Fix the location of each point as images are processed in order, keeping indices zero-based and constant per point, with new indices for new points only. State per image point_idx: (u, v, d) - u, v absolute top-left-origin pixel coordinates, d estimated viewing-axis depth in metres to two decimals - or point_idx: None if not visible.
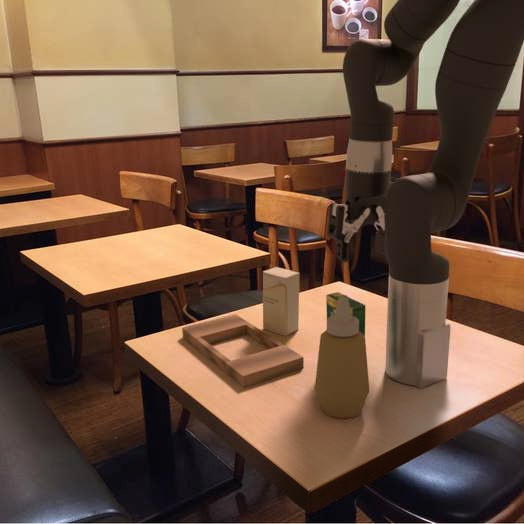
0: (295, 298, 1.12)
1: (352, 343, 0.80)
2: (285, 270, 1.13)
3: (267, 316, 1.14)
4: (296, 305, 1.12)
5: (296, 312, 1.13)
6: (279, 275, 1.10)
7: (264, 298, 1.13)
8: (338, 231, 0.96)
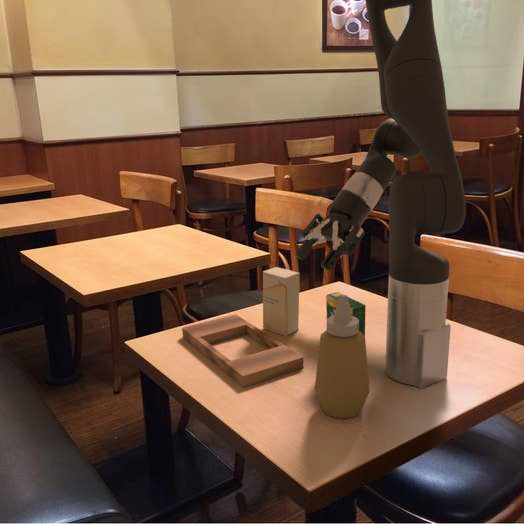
0: (295, 298, 1.12)
1: (352, 343, 0.80)
2: (285, 270, 1.13)
3: (267, 316, 1.14)
4: (296, 305, 1.12)
5: (296, 312, 1.13)
6: (279, 275, 1.10)
7: (264, 298, 1.13)
8: (305, 229, 1.21)
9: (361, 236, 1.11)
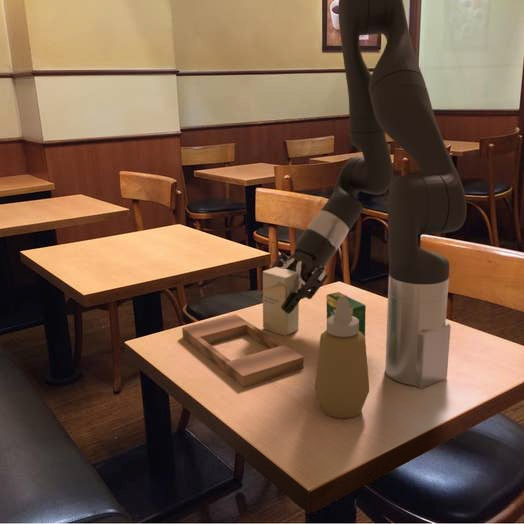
0: None
1: (352, 343, 0.80)
2: (285, 270, 1.13)
3: (267, 316, 1.14)
4: (296, 305, 1.12)
5: (296, 312, 1.13)
6: (279, 275, 1.10)
7: (264, 298, 1.13)
8: None
9: (323, 279, 1.09)
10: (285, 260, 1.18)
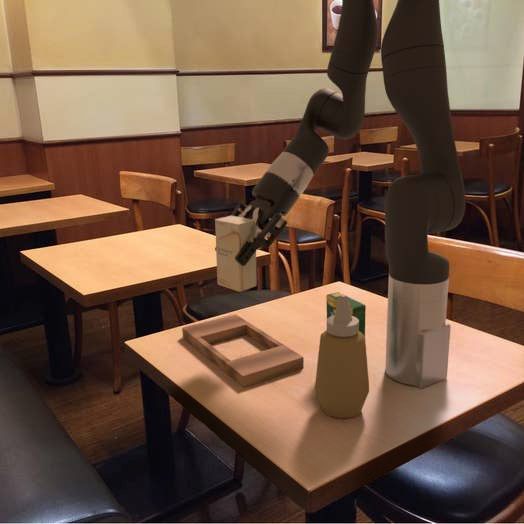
0: None
1: (352, 343, 0.80)
2: (240, 218, 1.00)
3: (221, 270, 1.01)
4: (253, 257, 1.00)
5: (253, 265, 1.00)
6: (232, 222, 0.97)
7: (217, 250, 1.01)
8: None
9: (282, 227, 0.96)
10: (243, 210, 1.05)
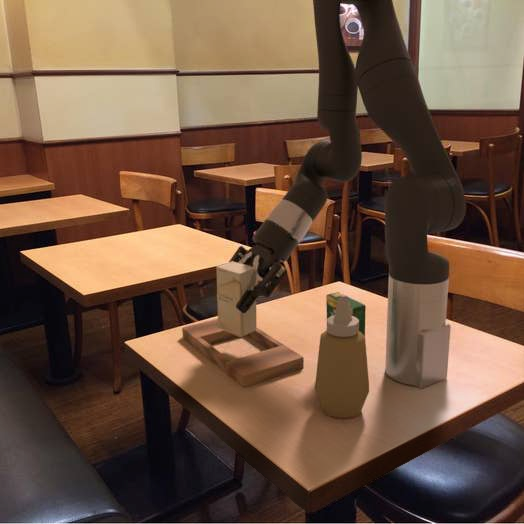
0: None
1: (352, 343, 0.80)
2: (241, 265, 1.02)
3: (222, 315, 1.04)
4: (253, 303, 1.02)
5: (253, 311, 1.03)
6: (233, 270, 0.99)
7: (218, 296, 1.03)
8: None
9: (282, 276, 0.99)
10: (243, 254, 1.08)
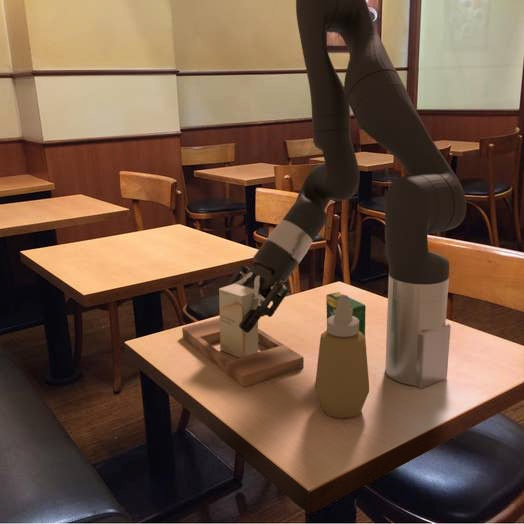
0: None
1: (352, 343, 0.80)
2: (243, 287, 1.04)
3: (224, 337, 1.05)
4: (255, 325, 1.03)
5: (255, 333, 1.04)
6: (235, 293, 1.01)
7: (221, 317, 1.04)
8: (229, 282, 1.09)
9: (284, 294, 1.00)
10: (245, 273, 1.09)
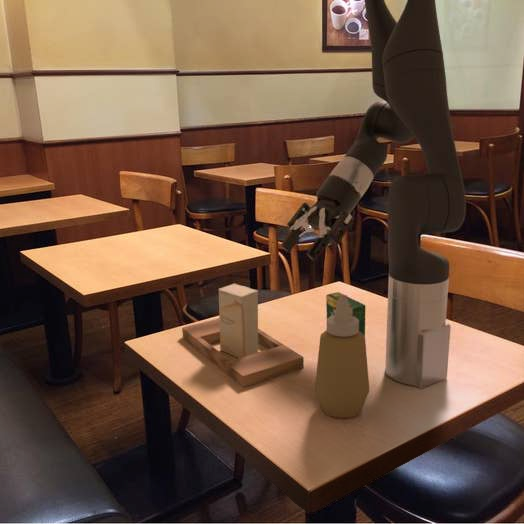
0: (253, 318, 1.02)
1: (352, 343, 0.80)
2: (243, 287, 1.03)
3: (224, 337, 1.05)
4: (255, 326, 1.03)
5: (255, 333, 1.04)
6: (235, 293, 1.01)
7: (220, 318, 1.04)
8: (292, 219, 1.13)
9: (350, 223, 1.04)
10: (307, 210, 1.13)
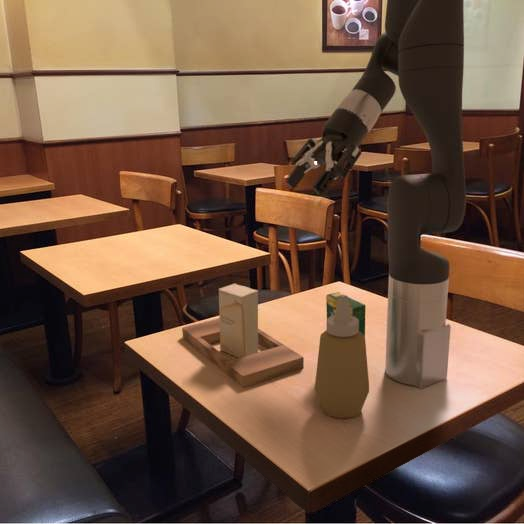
0: (253, 318, 1.02)
1: (352, 343, 0.80)
2: (243, 287, 1.03)
3: (224, 337, 1.05)
4: (255, 326, 1.03)
5: (255, 333, 1.04)
6: (235, 293, 1.01)
7: (220, 318, 1.04)
8: (297, 155, 1.10)
9: (357, 156, 1.01)
10: (312, 146, 1.10)
